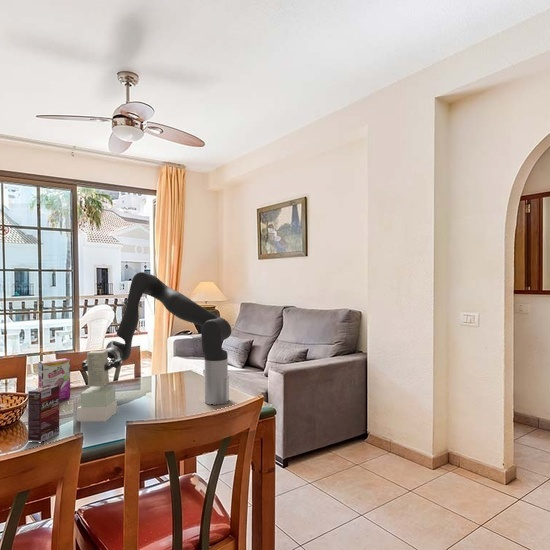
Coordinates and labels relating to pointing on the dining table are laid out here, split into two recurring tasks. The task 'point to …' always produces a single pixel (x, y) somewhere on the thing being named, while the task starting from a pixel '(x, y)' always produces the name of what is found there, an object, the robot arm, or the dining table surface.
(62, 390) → the candy bar box
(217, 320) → the robot arm
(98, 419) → the tower base block
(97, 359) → the skincare box
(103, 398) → the tower top block
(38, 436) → the supplement box
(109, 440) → the dining table surface
